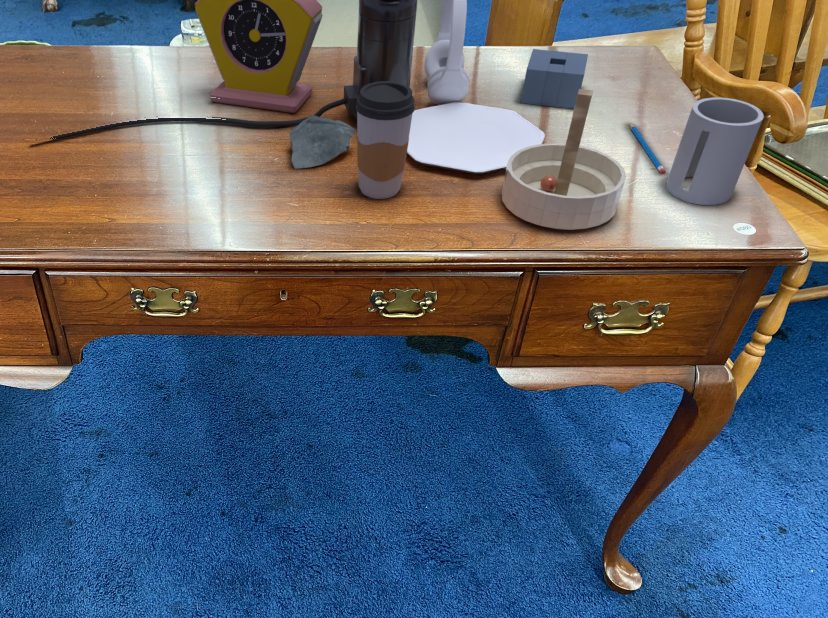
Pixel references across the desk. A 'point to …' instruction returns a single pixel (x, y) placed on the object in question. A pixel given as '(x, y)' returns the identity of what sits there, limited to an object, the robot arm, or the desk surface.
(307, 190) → the desk surface
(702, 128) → the cup
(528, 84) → the stand
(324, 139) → the stone
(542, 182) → the bead terracotta
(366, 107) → the coffee cup
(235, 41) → the yellow mantel clock
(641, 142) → the pencil
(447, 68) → the headphones
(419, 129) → the plate
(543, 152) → the bowl
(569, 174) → the stick
